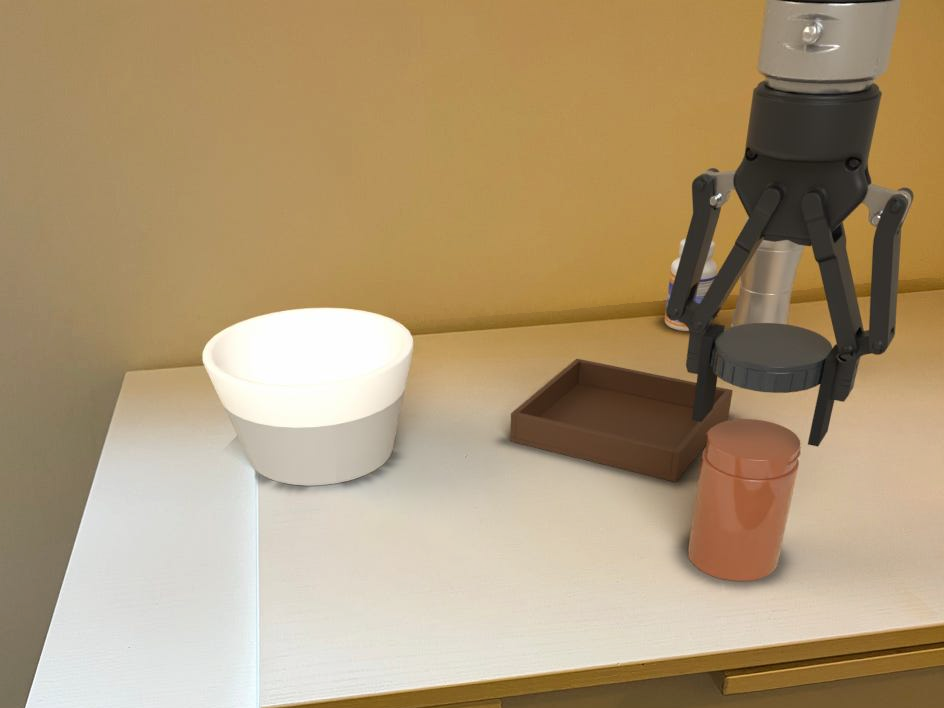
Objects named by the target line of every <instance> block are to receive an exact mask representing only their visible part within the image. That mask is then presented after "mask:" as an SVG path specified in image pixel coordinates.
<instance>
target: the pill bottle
mask: <svg viewBox="0 0 944 708" xmlns="http://www.w3.org/2000/svg"><path fill="white" fill-rule="evenodd" d="M685 240H686V238H684V239H682V240H681V241H680V243H679V249H678V255H679V257H676V258H675V259H674V260H673V262H672V263H671V266H670V272H669V280H668V289H667V295H666V296H667V298H666V306H665V310H666V309H667V305H668V302H669V298H670V294H671V291H672V287H673V284H674V280H675V276H676V273H677V269H678V266H679V262H680V258H681V255H682V251H683V248H684V244H685ZM715 247H716V243H715V241H713V240H712V242H711V246H710V249H709V252H708V256H707V259H706V263H705V266H704V269H703V273H702V276H701V279H700V283H699V286H698V290H697V293H696V296H695V300H694V301H695V302H697V303H699V304H700V303H701V301H702V299H703V298H704V296H705V294H706V292H707V291H708V289H709V287H710V286H711V284H712V282H713V280H714V279H715V277H716V275H717V274H718V265H717V263H716V262H715V261H714V260H713V259H712V258H713V257H714V254H715ZM664 323H665V325H666V326H667V327H669V328H671V329H672V330H676V331H680V332H689V329H688V327H687V326H686V325H685V324H684V323H682V322H680V321H678V320H676V321H673V320H670V319H669V318H668V317H667V315H666V311H665V313H664Z"/></svg>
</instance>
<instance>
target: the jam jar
mask: <svg viewBox="0 0 944 708" xmlns="http://www.w3.org/2000/svg"><path fill="white" fill-rule="evenodd" d="M707 435H708V437H707V444H706V445H705V447H704V448H703V449H702V453H701V460H700V467H699V474H698V479H697V488H696V494H695V502H694V508H693V514H692V521H691V528H690V534H689V541H688V542H689V543H688V549H687V554H688V555H687V556H688V558H689V560H690V562H691V563H692V564H693V565H694V566H695V567H696V568H697V569H698V570H700V571H702V573H705V574H707V575H709V576H711V577H715V578H717V579H721V580H726V581H734V582H746V581H747V582H748V581H755V580H760V579H762V578H765V577H767V576H769V575H770V574H772V573H773V572H774V571H775V570H776V568H777V567H778V564H779V559H780V555H781V550H782V546H783V541H784V536H785V532H786V528H787V522H788V518H789V513H790V508H791V504H792V499H793V495H794V490H795V486H796V481H797V476H798V471H799V466H800V461H799V458H800V456H801V440H800V438H799V437H798V435H797V434H796V433H795V432H794V431H792V430H791V429H789V428H787V426H786V427H785V426H783V425H781V424H778V423H775V422H772V421H767V420H764V419H763V420H762V419H755V418H753V419H752V418H738V419H737V418H736V419H729V420H726V421H725V422H722V423H719V424H717V425H715V426H714V427H712V428H710V429H709V431H708V432H707Z"/></svg>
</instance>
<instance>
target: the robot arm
mask: <svg viewBox="0 0 944 708" xmlns="http://www.w3.org/2000/svg"><path fill="white" fill-rule="evenodd" d="M901 5H902V0H765V4H764V10H763V11H764V12H763V19H762V27H761V33H760V42H759V49H758V56H757V64H756V70H757V72H758V73H759V74H761V75H762V76H763V77H764V80H762V81H760V82H759V83H758V84H757V86H756V87H754V88H753V90H752V97H751V104H750V112H749V117H748V118H749V119H748V124H747V125H748V126H747V134H746V141H745V149H744V154H743V158H742V160H741V162H740V164H739V165H738V166H737V168H736V170H726V171H725V170H724V171H720V170H719V169H718V168H716V167H711V168H708V169H706V170H705V171H704V172H702V173H701V174H699V175H698V176H697V177H695V178H694V179H693V181H692V182H691V201H692V216H691V219H690V222H689V226H688V229H687V234H686V237H685V239H686V240H685V244H684V248H683V251H682V255H681V258H680V262H679V266H678V269H677V273H676V276H675V280H674V284H673V287H672V291H671V294H670V298H669V302H668V305H667V309H666V308H665V312H666V315H667V317H668V318H669V319H670V320H673V321H676V320H678V321H680V322H682V323H684V324H685V325H686V326H687V327H688V329H689V331H688V332H689V335H688V345H687V354H686V361H685V367H686V372H687V373H690V374H695V375H697V376H696V382H695V383H696V391H695V399H694V407H693V414H692V420H694V421H699V422H702V421H703V419H704V418H705V417H706V416H707V415H708V414H709V412H710V411H711V410H712V409H713V405H714V398H715V391H716V387H717V383H718V378H719V377H718V376H717V375H716V374H715V373H714V372H713V369H712V367H711V359H712V351H713V349H714V343H715V339H716V337H717V336H718V335H719V334H720V333H721V332H722V331H724V330H725V327H726V326H725V324H724V325H723V324H719V323H718V324H717V323H714V320H716V319H717V317H718V316H719V315H718V314H719V313H720V311H721V310H722V308H723V307H724V305H725V303H726V301H727V300H728V298H729V296H731V293H732V291H733V290H734V288H735V286H736V285H737V284H738V282H739V280H740V279H741V275H742V273H743V272H744V270H745V268H746V267H747V265H748V263H749V262H750V260H751V259H752V257H753V255H754V254H755V252H756V250H757V249H758V247H759V245H760V244H761V242H762V241H763V240H766V241H773V242H777V241H784V240H789V241H791V242H793V243H796V244H798V245H804V246H805V247H811V248H812V253H813V257H814V260H815V262H816V263H817V264H818V269H819V272H820V277H821V281H822V285H823V291H824V295H825V299H826V303H827V307H828V312H829V316H830V320H831V324H832V328H833V329H832V330H833V334H834V338H835V342H836V344H834V345H833V346H832V350H831V351H830V353H829V354H828V355H827V357H826V359H825V364H824V368H823V373H822V378H821V383H820V384H819V388H818V393H817V398H816V402H815V407H814V412H813V417H812V420H811V422H812V423H811V426H810V431H809V436H808V441H807V445H809V446H812V447H819V446H820V444H821V443H822V441H823V440H824V438H825V436H826V435H827V434H828V431H829V427H830V422H831V417H832V415H833V414H832V413H833V410H834V409H833V408H834V404H835V401H837V402H843V403H844V402H845V401H847V398H848V397H849V396H850V394H851V392H852V390H853V389H854V387H855V381H856V377H857V374H858V368H859V364H860V360H861V357H863V356H865V355H871V354H872V355H875V356H880V355H882V354H884V353H886V351H887V349H888V348H889V347H890V344H891V343H892V342H893V339H894V338H895V335H896V322H897V307H898V291H899V277H900V276H899V275H900V273H899V272H900V258H901V244H902V243H901V242H902V241H901V240H902V227H903V225H904V222H905V220H906V218H907V215H908V213H909V210H910V209H911V206H912V204H913V201H914V199H915V198H914V196H915V195H914V192H913V191H912V189H911V188H909V187H901V188H898V189H897V190H895V189H891V188H887V187H884V186H881V185H878V184H875V183H872V177H871V175H870V171H869V157H870V151H871V147H872V143H873V138H874V132H875V128H876V124H877V119H878V113H879V109H880V104H881V100H882V95H883V92H882V91H881V90H880V86H879V85H878V84H877V83H875V80H877V79H879V78H880V77H881V76H883V75H884V74H885V73H887V72H888V67H889V62H890V57H891V54H892V48H893V43H894V38H895V33H896V29H897V24H898V20H899V19H898V18H899V14H900V10H901ZM733 190H734V191H735V193H736V195H737V197H738V199H739V201H740V203H741V205H742V207H743V209H744V211H745V213H746V215H747V218H748V217H749V219H748V221H747V222H746V224H745V223H744V224H745V226H744V225H743V226H744V227H743V226H742V229H741V230H740V233H739V235H738V236H737V238H736V239H735V242H734V245H733V246H732V248H731V250H730V251H729V253H728V255H727V256H726V258H725V260H724V262H723V263H722V265H721V266H720V268H719V270H718V271H717V274H716V277H715V279H714V280H713V282H712V284H711V286H710V287H709V289H708V291H707V292H706V294H705V296H704V298H703V299H702V301H701V303H700V304H699V303H697V302H695V301H694V300H695V296H696V293H697V290H698V286H699V283H700V279H701V276H702V273H703V269H704V266H705V263H706V259H707V256H708V252H709V249H710V246H711V242H712V241H713V238H714V235H715V231H716V228H717V225H718V222H719V218H720V214H721V211H722V207H723V206H724V205H725V204H727V202H728V201H729V199H730V198H731V197H730V195H731V193H732V191H733ZM861 204H863V205H865V206H866V207H867V209H868V222H869V224H870V225H872V226H873V227H875V231H874V236H873V241H872V256H871V257H872V258H871V275H870V276H871V279H870V296H869V297H870V298H869V301H870V302H869V321H868V322H869V323H868V329H866V330H864V325H863V319H862V315H861V311H860V307H859V302H858V297H857V293H856V288H855V284H854V278H853V274H852V269H851V263H850V260H849V256H848V255H849V254H848V250H847V234H846V231H845V226H844V221H845V220H846V219H847V218H848V217H849V216H850V215H851V214H852V213H853V212H854V211H855V210H856V209H857V208H859V206H860V205H861Z"/></svg>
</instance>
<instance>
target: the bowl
mask: <svg viewBox="0 0 944 708" xmlns="http://www.w3.org/2000/svg"><path fill="white" fill-rule="evenodd" d="M414 343H415V341H414V338H413V336H412V334H411V331H410V330H409V329H408V328H407V327H405V326H404V325H403V324H402V323H400V322H398V321H397V320H395V319H393V318H392V317H388V316H386V315H382V314H380V313H377V312H376V313H375V312H371V311H366V310H361V309H352V308H342V307H307V308H306V307H305V308H295V309H287V310H282V311H275V312H270V313H265V314H262V315H258V316H254V317H251V318H247V319H245V320H242V321H239V322H236V323H235V324H232V325H230V326H228V327H226V328H224V329H222V330H221V331H219V332H218V333H216V334H215V335H213V336H212V337H211V339H210V340H208V341H207V343H206V344H205V347H204V349H203V350H202V364H203V366H204V368H205V370H206V372H207V375H208V376H209V377H208V378H210V381H211V383H212V385H213V387H214V389H215V392H216V394H217V396H218V398H219V400H220V402H221V404H222V406H223V408H224V411H225V413H226V414H227V417H228V419H229V421H230V423H231V426H232V428H233V429H234V432H235V434H236V436H237V438H238V440H239V443H240V444H241V446H242V449H243V451H244V453H245V455H246V458H247V460H248V462H249V464H250V465H251V467H252V468H253V469H254V471H256V472H257V473H258V474H259V475H261V476H263V477H265V478H267V479H269V480H273V481H275V482H278V483H283V484H289V485H294V486H297V485H298V486H327V485H334V484H335V485H336V484H339V483H344V482H349V481H352V480H355V479H359V478H362V477H364V476H366V475H368V474H371V473H372V472H375V471H376V470H377V469H379V468H380V467H382V466H383V465H384V464H385V463H386V462H387V461H388V460H389V459H390V457H391V455H392V453H393V450H394V446H395V440H396V435H397V431H398V425H399V422H400V421H399V420H400V416H401V411H402V405H403V400H404V396H405V392H406V388H407V383H408V378H409V373H410V368H411V363H412V357H413V353H414V347H415V345H414Z"/></svg>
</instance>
